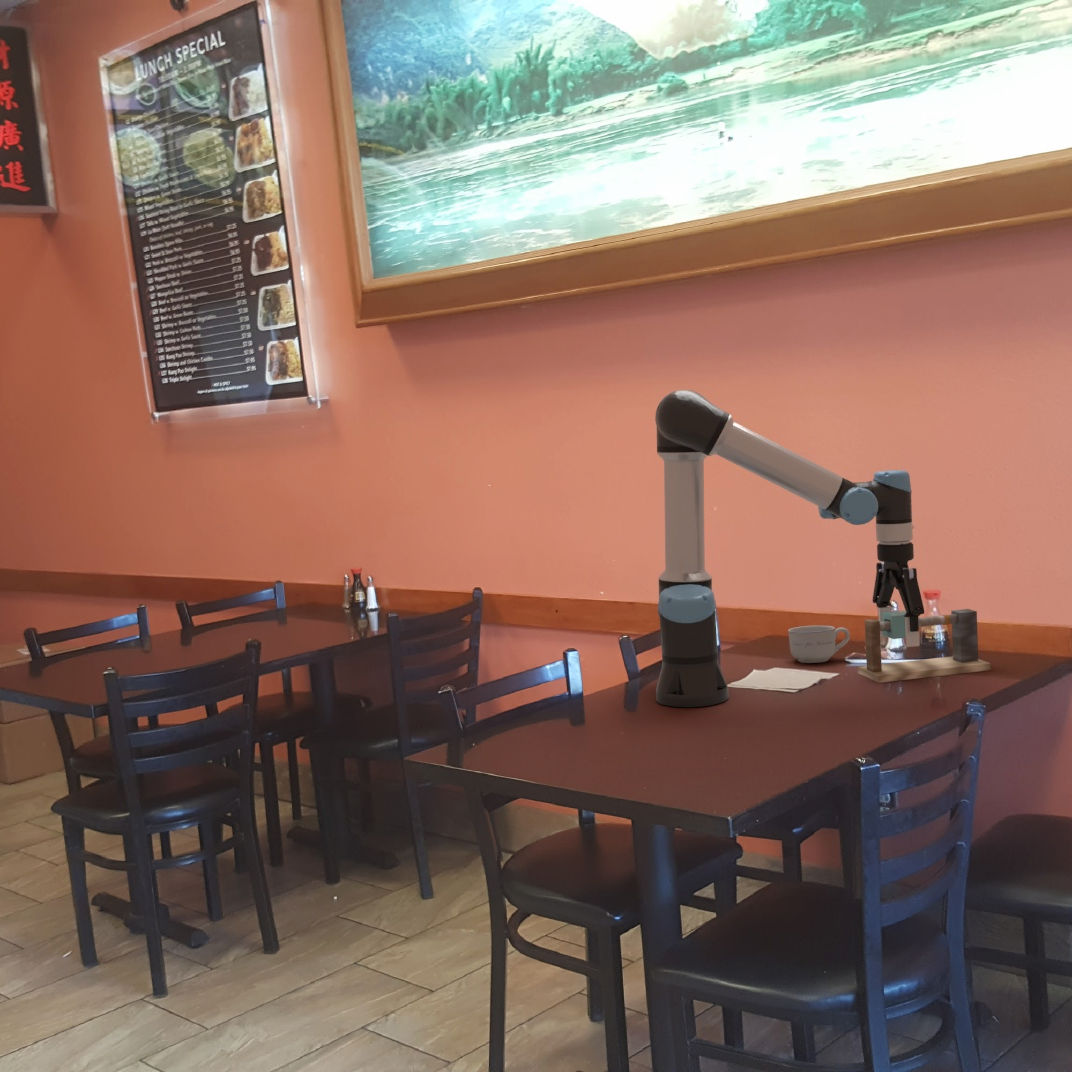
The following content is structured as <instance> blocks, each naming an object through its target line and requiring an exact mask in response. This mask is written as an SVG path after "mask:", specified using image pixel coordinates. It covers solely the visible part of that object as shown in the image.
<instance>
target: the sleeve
mask: <svg viewBox="0 0 1072 1072" xmlns="http://www.w3.org/2000/svg"><path fill="white" fill-rule="evenodd" d="M905 614H906V610H897V611H891V612H884V613H882V622H884V621H890V625H891V630H888V631H883V636H886V637H885V638H889V639H892V640H896V639H897V640H899V639H906V632H905V617H904V615H905Z"/></svg>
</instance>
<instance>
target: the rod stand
mask: <svg viewBox="0 0 1072 1072" xmlns="http://www.w3.org/2000/svg"><path fill="white" fill-rule="evenodd" d="M950 613H951V614H942V615H935V616H933V615H932V616H924V617H918V618H919V628H923V627H924V628H925V627H932V626H947V625H951V637H952V639H951V640H952V641H951V642H952V643H951V644H952V656H944V657H943V656H942V657H934V658H926V659H915V660H908V661H899V662H890V663H882V647H881V646H882V645H881V644H882V643H881V637H880V631H888V630H891V625H890V621H884V622H880V621H879V619H878V620H877V619H874V618H872V619H871V618H869V619H865V620H864V632H865V633H864V634H865V636H864V637H865V653H866V654H865V658H866V665H862V666H861V665H860V666H857V674H858V675H860V676H863V677H865V678H866V679H869V680H871V681H874V682H876V683H889V682H896V681H897V682H898V681H906V680H914V679H915V680H916V679H922V678H923V679H924V678H925V679H926V678H932V677H942V676H951V675H960V674H968V673H977V672H984V671H986V672H987V671H991V670H992V668H991V667H992V666H991V665H992V664H991V662H988V661H985V660H983V659H980V658H979V643H978V642H979V639H978V637H979V636H978V612H977V610H974V609H970V608H966V609H965V608H964V609H956V610H955V609H954V610H951V612H950Z"/></svg>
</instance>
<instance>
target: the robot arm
mask: <svg viewBox="0 0 1072 1072" xmlns="http://www.w3.org/2000/svg"><path fill="white" fill-rule="evenodd" d="M654 422H655V426H656V454H657V455H658V456H659V458H661V459H662V461H663V477H664V479H663V480H664V481H663V482H664V484H663V486H664V488H663V489H664V560H665V561H664V564H665V565H664V566H665V569H664V570H663V572H662V573H661V574H659V576H658V602H657V614H658V618H659V627H660V629H659V630H660V644H661V659H662V660H661V662H662V664H661V669H660V672H659V677H658V680H657V684H656V688H655V699H656V702H657V703H658V704H660V705H664V706H668V707H675V708H697V707H698V708H699V707H708V706H714V705H718V704H721V703H724V702H726V701H728V699H729V697H730V696H729V686H728V683H727V680H726V678H725V676H724V674H723V673H724V672H723V671H722V669H721V666H720V663H719V655H718V639H717V638H718V634H717V619H716V617H717V615H716V607H717V604H716V603H717V602H716V599H715V594H714V591H713V581H712V579H713V577H712V575H711V574H710V573H708V571H707V570H706V568H705V567H706V564H705V562H706V560H705V473H704V472H705V465H704V464H705V463H704V462H705V459H706V457H711V456H715V455H717V456H719V457H721V458H723V459H725V460H727V461H728V462H730V463H732V464H735V465H736V466H739V467H741V468H742V469H744V470H746V471H748V472H750V473H752V474H754V475H756V476H757V477H760V478H762V479H764V480H766V481H768V482H770V483H772V484H774V485H775V486H777V487H780V488H782V489H783V490H785V491H788V492H790V493H791V494H794V495H795V496H798V497H799V498H802V499H803V500H805V501H807V502H809V503H811V504H813V505H816V506H817V509H818V514H819V516H820V517H821V518H822V519H823V520H825V519H826V520H828V519H829V520H830V519H831V520H837V519H842V520H844V521H845V522H846V523H849V524H851V525H853V526H862V525H865V524H868V523H870V522H871V521H872V520H873V519H874V518H875V534H876V535H875V538H876V541H877V542H878V543H877V545H876V555H877V560H878V561H879V562H876V566H875V569H876V573H875V580H874V586H873V593H872V603H873V604H876V608H878V609H877V611H878V613H877V614H878V621H880V622H882V613H884V612H892V607H891V606H892V603H891V599H892V596H893V594H894V590H895V589H896V590H898V592H899V596H900V599H901V601H902V604H903V607H904V611H906V614H905V615H904V617H905V632H906V638H905V647H906V648H912V647H920V627H919V618H920V617H919V616H921V615H924V614H925V607H924V603H923V599H922V594H921V591H920V586H919V582H918V574H917V570H918V569H917V568H916V567H912V568H910V567H909V561H912V560H914V553H915V551H914V543H913V542H912V540H914V539H913V536H914V535H913V530H914V525H913V512H912V510H913V509H912V508H913V507H912V487H911V486H912V485H911V477H910V473H909V472H908V471H907V470H903V469H899V470H898V469H894V470H882V471H881V470H880V471H879V470H878V471H876V472H875V473H874V474H873V479H872V480H869V481H862V482H858V481H857V482H853V481H850V480H849V479H848V478H847V479H846V478H844V477H843V476H841V475H839V474H837V473H835V472H833V471H831V470H829V469H828V468H825V467H824V466H822V465H820V464H818V463H816V462H813V461H811V460H810V459H808V458H806V457H804V456H802V455H800V454H798V453H796V452H794V451H792V450H790V449H788V448H786V447H784V446H783V445H781V444H778V443H777V442H776V441H775V442H774V441H772V440H770V439H768V438H767V437H764V436H763V435H761V434H760V433H756V432H755V431H753V430H751V429H749V428H748V427H745V426H744V425H741V424H740V423H737V422H735V421H734V419H733V417H732V414H731V413H728V412H727V411H725V410H723V409H721V408H719V407H718V406H716V405H715V404H713V403H712V402H711V401H710V400H708V399H707V398H706V397H704V396H703V395H702V394H700V393H698V392H697V391H695V390H690V389H680V390H675V391H672V392H670V393H668V394H667V395H666V396H664V397H663V398H662V399H661V401H660V402H659V404H658V405H657V407H656V411H655V421H654ZM880 638H887V637H886V636H883V631H880Z"/></svg>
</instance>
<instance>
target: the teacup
mask: <svg viewBox="0 0 1072 1072" xmlns="http://www.w3.org/2000/svg"><path fill="white" fill-rule="evenodd" d="M787 632H788V639H789V640H788V641H789V650H790V654H791V656H792V657H794V659H796V660H797V661H798V662H799V663H804V664H811V663H812V664H813V663H814V664H816V663H817V664H818V663H825V662H828V661H829V660H830V658H831V657H833V655H834V654H835V653H837V652H838V651H839V650H840V649H841V648H842V647H845V645H847V644H848V642H849V641H850V637H851V634H850V631H849V630H848V629H847V628H846V627H838V628H836V627H835V626H831V625H806V626H805V625H803V626H797V627H792V628H788V630H787ZM841 632H843V633H844V634H845V636H844V637H845V638H844V639H843V640H842V641H841V642H840V643H838V644H836V639H837V637H838V634H839V633H841Z"/></svg>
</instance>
